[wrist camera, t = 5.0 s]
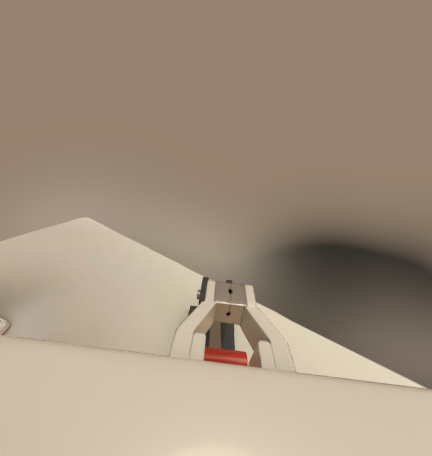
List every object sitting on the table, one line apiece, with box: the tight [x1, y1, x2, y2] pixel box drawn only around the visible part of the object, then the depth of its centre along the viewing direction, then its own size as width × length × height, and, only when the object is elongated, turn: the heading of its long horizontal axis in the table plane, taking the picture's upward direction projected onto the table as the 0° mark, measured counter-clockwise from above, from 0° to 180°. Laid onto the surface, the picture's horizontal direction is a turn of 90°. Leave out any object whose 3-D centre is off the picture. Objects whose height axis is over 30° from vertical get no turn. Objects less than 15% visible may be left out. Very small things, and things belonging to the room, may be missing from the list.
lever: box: [204, 322, 247, 366], centre depth 20 cm, size 14×5×2 cm, turn 176°
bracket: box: [189, 277, 235, 351], centre depth 28 cm, size 12×10×15 cm
